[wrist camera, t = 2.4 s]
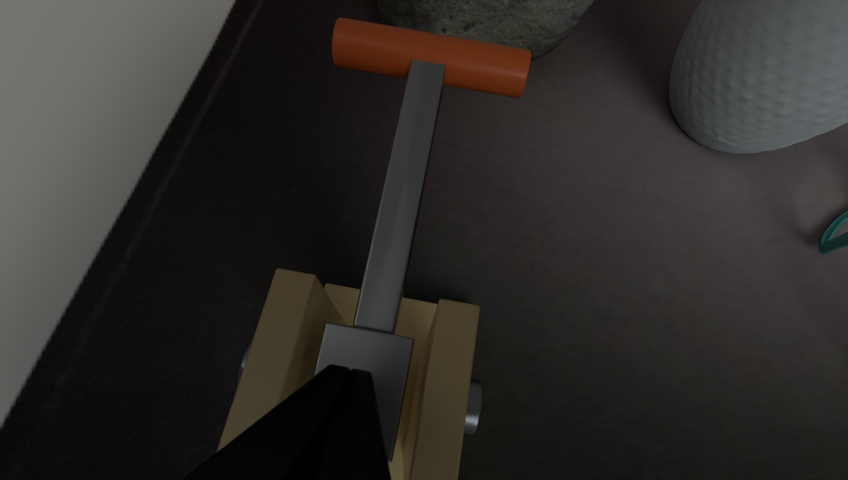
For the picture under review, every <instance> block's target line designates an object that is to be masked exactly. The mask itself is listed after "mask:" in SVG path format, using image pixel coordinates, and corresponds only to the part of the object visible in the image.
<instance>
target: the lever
mask: <svg viewBox="0 0 848 480" xmlns="http://www.w3.org/2000/svg"><path fill="white" fill-rule="evenodd" d="M332 56H333V61H334V64H335V65H336V66H337V67H342V68H348V69H354V70H360V71H365V72H371V73H377V74H382V75H388V76H394V77H400V78H405V79H407V80H406V85H405V89H404V94H403V99H402V103H401V108H400V112H399V117H398V121H397V126H396V130H395V135H394V139H393V144H392V148H391V153H390V157H389V162H388V166H387V171H386V175H385V180H384V184H383V189H382V194H381V198H380V203H379V207H378V212H377V216H376V221H375V225H374V230H373V234H372V239H371V243H370V248H369V252H368V257H367V261H366V266H365V270H364V275H363V280H362V284H361V289H360V293H359V298H358V302H357V307H356V311H355V316H354V320H353V327H352V326H347V325H342V324H336V323H331V322H326V324H325V326H324V330H323V334H322V339H321V343H320V347H319V351H318V356H317V360H316V364H315V368H314V372H313V377H314V376H315V375H316V374H317V373H319V372H320V371H321V370H323V369H324V368H325V367H326V366H328V365H330V364H335V365H340V366H346V367H348V368H349V369H350V370H351V369H353V368H356V369H361V370H367V371H370V372H371V374H372V377H373V383H374V388H375V394H376V399H377V404H378V410H379V415H380V421H381V426H382V431H383V437H384V442H385V448H386V453H387V458H388V463H391V462H392V460H393V455H394V450H395V445H396V440H397V434H398V429H399V423H400V418H401V412H402V407H403V402H404V396H405V391H406V385H407V380H408V374H409V369H410V363H411V358H412V353H413V347H414V339H413V338H411V337H405V336H400V335H395V333H396V329H397V324H398V319H399V314H400V309H401V304H402V299H403V294H404V288H405V283H406V278H407V273H408V268H409V263H410V258H411V253H412V247H413V242H414V237H415V232H416V227H417V222H418V217H419V212H420V207H421V201H422V196H423V191H424V186H425V181H426V176H427V171H428V166H429V160H430V155H431V150H432V145H433V140H434V135H435V130H436V125H437V119H438V114H439V109H440V104H441V99H442V94H443V89H444V85H446V86H451V87H457V88H463V89H469V90H474V91H480V92H486V93H491V94H497V95H503V96H509V97H514V98H520V96H521V95H522V92H523V90H524V87H525V83H526V80H527V76H528V71H529V67H530V60H531V51H530V50H528V49H522V48H517V47H511V46H505V45H499V44H493V43H487V42H482V41H476V40H470V39H464V38H458V37H452V36H447V35H441V34H435V33H429V32H423V31H417V30H412V29H406V28H400V27H394V26H388V25H382V24H377V23H371V22H365V21H359V20H353V19H348V18H342V17H341V18H338V20H337V21H336V24H335V27H334V31H333V38H332Z"/></svg>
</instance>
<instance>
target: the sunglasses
mask: <svg viewBox="0 0 848 480" xmlns="http://www.w3.org/2000/svg"><path fill="white" fill-rule="evenodd" d="M846 221H848V211H846V212H845V213H843V214H842V215H841V216H839V217H838V218H837V219H835V220H834V221H833V222H832V223H831V224H830V225H829V226H828V228H827V229H826V230H825V232H824V233H823V235H822V236H821V238H820V241H819V244H818V249H819V250H820V252H821V253H822V254H825V255H826V254H829V253H831V252H833V251H835V250H837V249H840V248H843V247H845V246H848V232H847V233H844V234H842V235H840V236H838V237H836V238H833V239H832V237H833V235H834V234H835V232H836V231H837V230H838V229H839V228H840V227H841V226H842V225H843V224H844V223H845V222H846Z"/></svg>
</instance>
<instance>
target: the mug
mask: <svg viewBox="0 0 848 480" xmlns="http://www.w3.org/2000/svg"><path fill="white" fill-rule="evenodd" d="M669 101H670V107H671V110H672V113H673V115H674V117H675V119H676V121H677V123H678V124H679V126H680V127H681V128H682V129H683V130H684V132H685V133H686V134H688V135H689V136H690V137H691V138H692V139H694V140H695V141H697V142H698V143H700V144H702V145H703V146H706V147H708V148H711V149H713V150H717V151H721V152H726V153H735V154H745V153H757V152H763V151H773V150H775V149H777V148H784V147H788V146H791V145H793V144H795V143H798V142H803V141H806V140H808V139H810V138H812V137H814V136H816V135H821V134H824V133H826V132H827V131H831V130H834V129H835V128H837V127H838V126H841V125H843V124H846V123H848V0H700V3H699V4H698V5H697V7H696V9H695V11H694V12H693V14H692V16H691V20H690V21H689V24H688V25H687V27H686V28H685V31H684V33H683V35H682V39H681V41H680V43H679V46H678V48H677V49H676V54H675V58H674V60H673V63H672V70H671V73H670V83H669Z"/></svg>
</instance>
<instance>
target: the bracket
mask: <svg viewBox="0 0 848 480" xmlns="http://www.w3.org/2000/svg"><path fill="white" fill-rule="evenodd" d="M359 293H360V289H355V288H349V287H344V286H339V285H333V284H328V283H327V284H325V287H324V288H323V286H322V285H321V283H320V282H319V280H318V278H317V277H316V276H315V275H312V274H306V273H301V272H296V271H290V270H285V269H276V272H275V275H274V278H273V281H272V284H271V287H270V290H269V293H268V296H267V299H266V302H265V305H264V308H263V311H262V314H261V317H260V321H259V324H258V327H257V330H256V333H255V336H254V339H253V341H252V343H251V344H250V345H249V347H248V349H247V350H246V352H245V355H244V357H243V360H242V362H241V366H240V370H239V376H238V388H237V391H236V394H235V397H234V400H233V403H232V406H231V409H230V412H229V415H228V418H227V421H226V424H225V428H224V431H223V434H222V437H221V440H220V443H219V446H218V449H217V452H218V451H219V450H220V449H222V448H223V447H224V446H226V445H227V444H228V443H229V442H231V441H232V440H233V439H234V438H236V437H237V436H238V435H240V434H241V433H242V432H243V431H245V430H246V429H247V428H249V427H250V426H251V425H252V424H254V423H255V422H256V421H257V420H259V419H260V418H261V417H263V416H264V415H265V414H266V413H268V412H269V411H270V410H271V409H273V408H274V407H275V406H277V405H278V404H279V403H280V402H282V401H283V400H284V399H286V398H287V397H288V396H289V395H291V394H292V393H293V392H294V391H296V390H297V389H298V388H300V387H301V386H302V385H303V384H305V383H306V382H307V381H309V380H310V379H311V378H312V377H313V372H314V368H315V364H316V360H317V356H318V351H319V347H320V343H321V339H322V334H323V330H324V326H325V324H326V322H331V323H336V324H342V325H347V326H352V327H353V320H354V316H355V311H356V307H357V302H358V298H359ZM479 311H480V308H479V306H477V305H472V304H467V303H462V302H456V301H451V300H445V299H440V300H439V302H438V304H435V303H430V302H424V301H419V300H414V299H408V298H403V299H402V304H401V309H400V314H399V319H398V324H397V329H396V333H395V335H400V336H405V337H411V338H413V339H414V347H413V353H412V358H411V363H410V369H409V374H408V380H407V385H406V391H405V396H404V402H403V407H402V412H401V418H400V423H399V429H398V434H397V440H396V445H395V450H394V455H393V460H392V462H391V463H388V464H389V469H390V475H391V480H458V473H459V465H460V457H461V450H462V442H463V435H464V436H469V437H473V436H474V435H475V434H476V432H477V429H478V425H479V420H480V415H481V408H482V395H483V389H482V382H481V380H479V379H474V378H471V373H472V365H473V357H474V350H475V342H476V334H477V327H478V319H479ZM217 452H216V453H217Z"/></svg>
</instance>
